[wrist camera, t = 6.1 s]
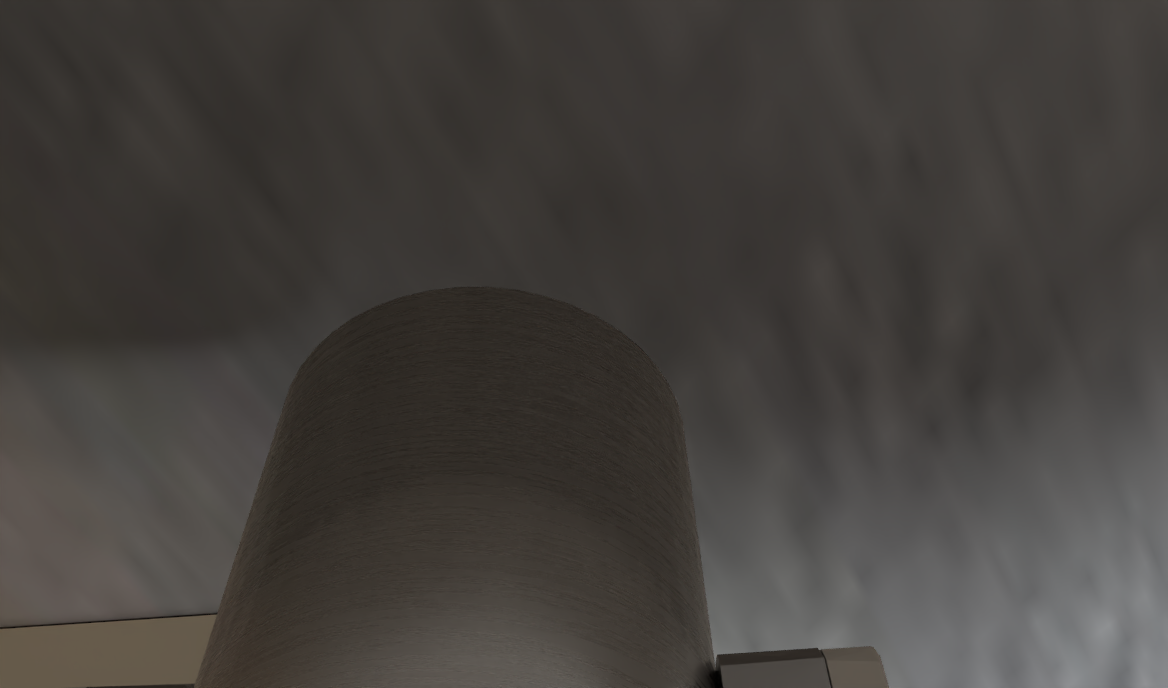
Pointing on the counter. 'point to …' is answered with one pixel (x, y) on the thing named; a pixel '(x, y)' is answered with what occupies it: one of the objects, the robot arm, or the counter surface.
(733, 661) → the robot arm
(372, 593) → the oil can
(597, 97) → the counter surface
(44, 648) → the white box frame
